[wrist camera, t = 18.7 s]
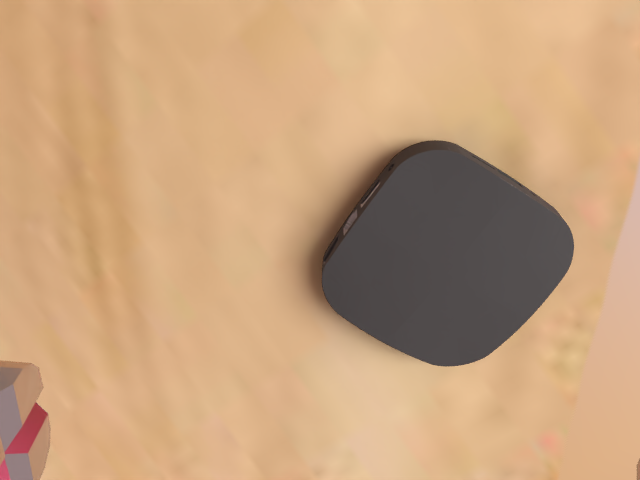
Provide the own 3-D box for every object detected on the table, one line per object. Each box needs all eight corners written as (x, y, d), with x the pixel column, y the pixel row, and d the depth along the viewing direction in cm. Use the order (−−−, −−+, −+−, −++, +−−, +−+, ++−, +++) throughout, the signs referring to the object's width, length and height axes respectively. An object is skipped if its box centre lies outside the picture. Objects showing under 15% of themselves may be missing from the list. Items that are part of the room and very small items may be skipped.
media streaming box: (457, 363, 49) (465, 388, 46) (302, 278, 46) (300, 300, 43) (586, 225, 43) (603, 244, 41) (418, 116, 40) (424, 129, 37)
